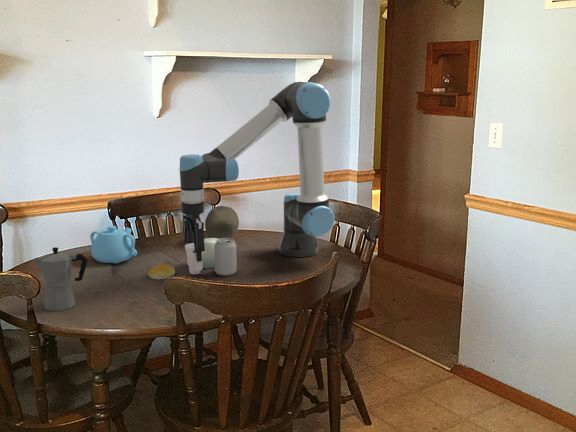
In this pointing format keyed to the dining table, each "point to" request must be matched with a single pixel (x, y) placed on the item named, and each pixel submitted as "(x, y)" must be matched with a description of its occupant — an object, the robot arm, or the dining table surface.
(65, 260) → the coffeepot
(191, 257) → the smoothie
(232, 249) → the can
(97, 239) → the teapot
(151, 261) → the dining table surface
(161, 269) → the bread roll
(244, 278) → the dining table surface
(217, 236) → the cantaloupe
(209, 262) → the sage mug
